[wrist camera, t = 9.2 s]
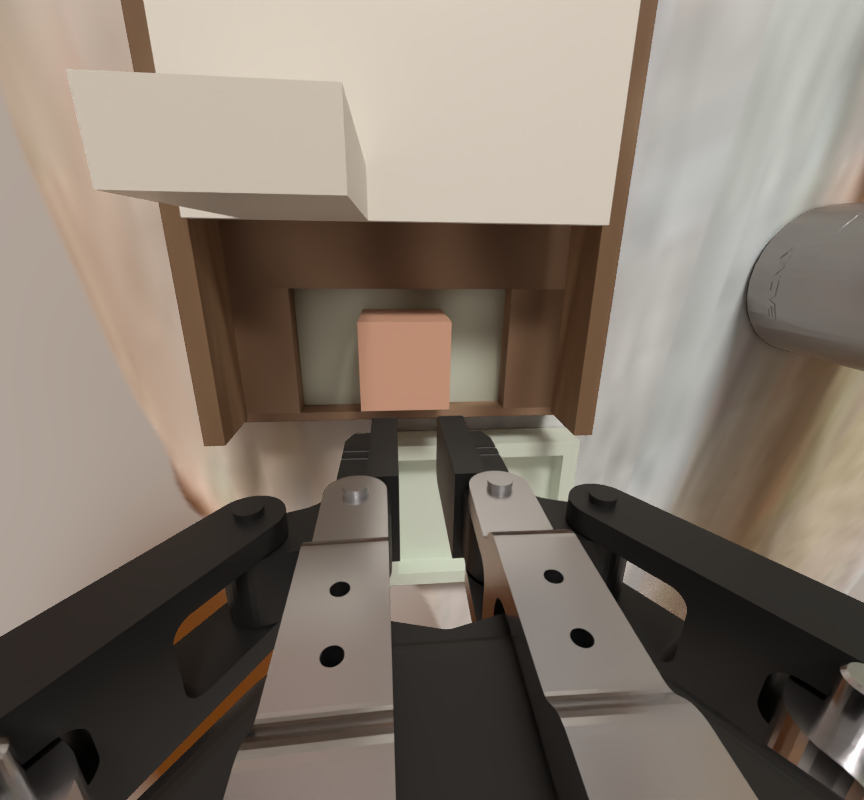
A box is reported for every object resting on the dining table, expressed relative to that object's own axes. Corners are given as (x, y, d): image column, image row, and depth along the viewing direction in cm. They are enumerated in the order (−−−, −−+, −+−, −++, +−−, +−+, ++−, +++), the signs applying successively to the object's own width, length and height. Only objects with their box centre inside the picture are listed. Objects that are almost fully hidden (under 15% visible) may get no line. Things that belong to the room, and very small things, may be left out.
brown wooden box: (588, 39, 22) (664, -40, 16) (548, 398, 29) (591, 438, 23) (189, 15, 20) (105, -84, 14) (246, 404, 27) (204, 449, 21)
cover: (632, -12, 16) (950, -350, 7) (600, 225, 19) (796, 206, 10) (145, -47, 15) (-270, -546, 5) (189, 218, 17) (-33, 186, 8)
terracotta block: (440, 309, 25) (451, 322, 20) (439, 383, 26) (449, 409, 22) (362, 309, 24) (357, 322, 20) (366, 384, 26) (361, 411, 22)
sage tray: (566, 427, 30) (580, 441, 28) (549, 554, 34) (560, 575, 31) (380, 432, 29) (379, 447, 27) (384, 563, 32) (384, 586, 30)
